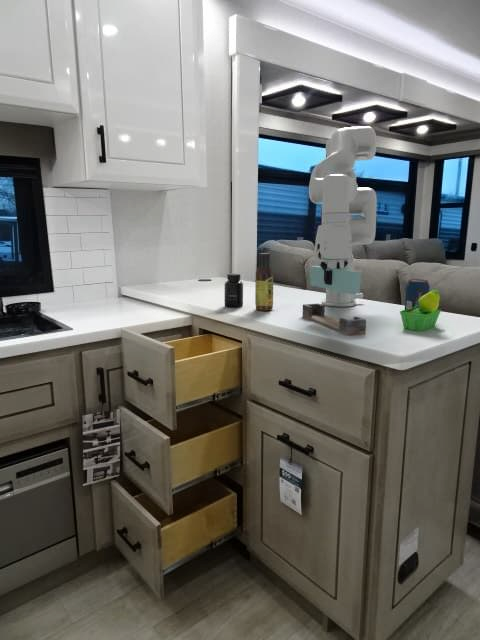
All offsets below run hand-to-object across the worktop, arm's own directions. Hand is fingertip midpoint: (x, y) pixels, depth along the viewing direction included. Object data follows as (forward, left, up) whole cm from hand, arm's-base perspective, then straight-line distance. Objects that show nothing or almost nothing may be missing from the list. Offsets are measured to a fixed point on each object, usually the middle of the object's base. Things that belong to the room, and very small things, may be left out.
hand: (332, 283), depth 131 cm
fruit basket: (-22, +13, -13) cm, 29 cm away
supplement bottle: (+18, -39, -13) cm, 45 cm away
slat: (0, 0, -2) cm, 2 cm away
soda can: (-30, +1, -13) cm, 33 cm away
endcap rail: (0, 0, -12) cm, 12 cm away
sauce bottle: (+10, -29, -13) cm, 33 cm away
